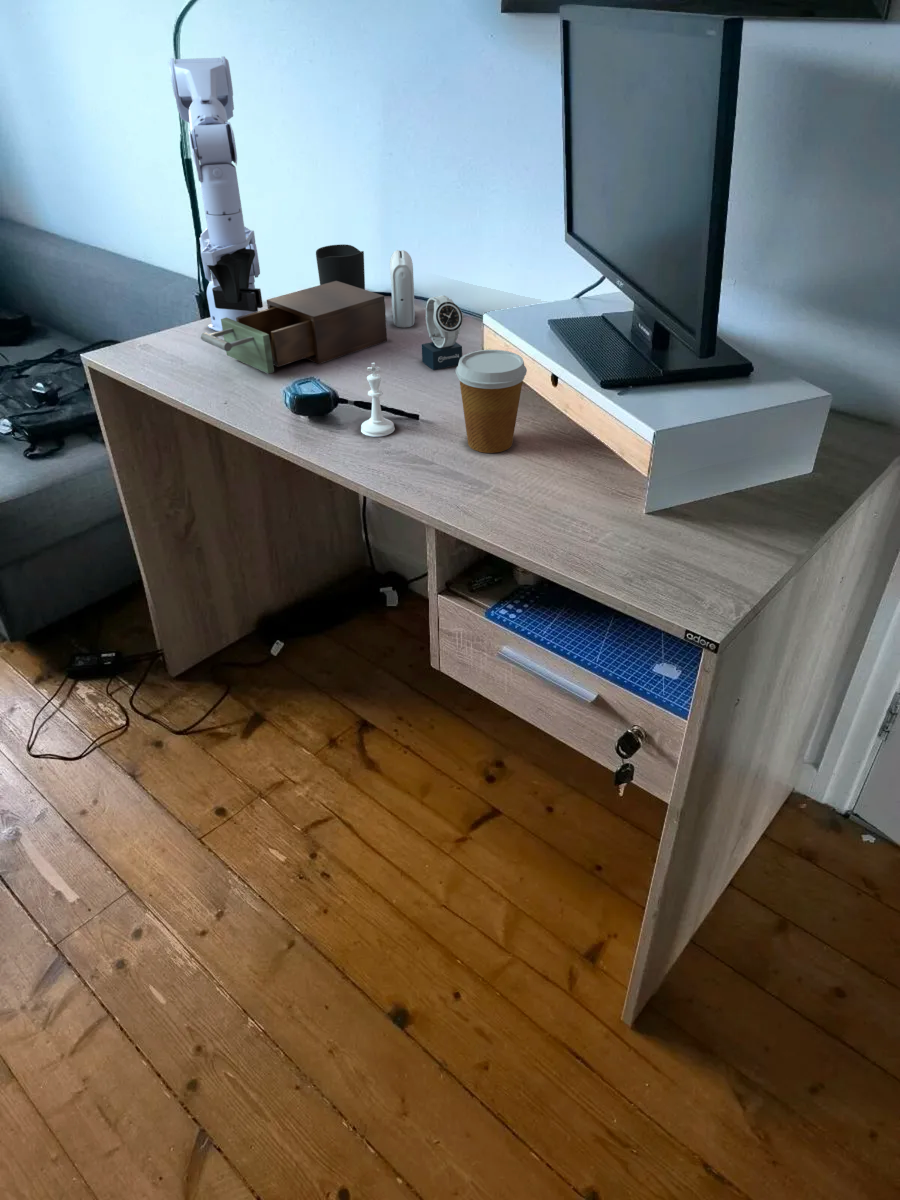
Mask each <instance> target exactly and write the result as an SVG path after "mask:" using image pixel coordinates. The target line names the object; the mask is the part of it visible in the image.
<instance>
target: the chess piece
mask: <svg viewBox="0 0 900 1200" xmlns="http://www.w3.org/2000/svg"><path fill="white" fill-rule="evenodd" d="M366 369H367V372H371V374H368V375H367V376H366V379H367V382H368V384H369V387H370V390H368V391H367V396H368V397H371V398H372V399H371V415H370V417H369V419H366V420H365V421H363V422H362V423H361V425H360V432H361V433H362V434H363V435H365V436H367V437H374V438H379V437H380V438H381V437H386V436H389V435H391V434H393V433H394V431H395V430H396V429H395V424H394V422H393V421H392V420H390V419H388V418H385V416H384V415H383V412H382V407H381V401H380V397H381V396H383V394H384V392H383V390H382V389H380V384H381V381H382V375H380V374H379V373H376V372H380V371H381V369H380V366H376V362H371V366H369V367H367V368H366Z"/></svg>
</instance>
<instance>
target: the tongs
mask: <svg viewBox="0 0 900 1200" xmlns="http://www.w3.org/2000/svg"><path fill="white" fill-rule="evenodd" d="M212 291H213V297H214V303H215V307H216V308H218V309H230V310H243V311H252V312H256V311H257V308H258V309H262V308H263V307H264V304H263V298H262V292H261V288H258V287H257V288H256V287H255V288H254V289H252V288H240V302H238V303H232V302H227V301H226V299H225V296H224V294H223V291H222V289H221V287H220V286H218V287H214V288H212Z"/></svg>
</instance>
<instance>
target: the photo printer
mask: <svg viewBox="0 0 900 1200" xmlns="http://www.w3.org/2000/svg"><path fill="white" fill-rule="evenodd" d="M412 259H413V258H412V257H411V255H410V253H409V252H408V251H406V250H405V249H402V250H399V249H397V250H395V251H394V252H393V253H392V254H391V256H390V258H389V273H390V274H389V275H390V288H391V290H390V291H391V311H392V312H391V313H392V321H393V325H394V326H395V327H397V328H411V327H412V326H414V325H415V320H416V319H415V318H416V313H415V311H416V309H415V282H414V263H413V260H412Z"/></svg>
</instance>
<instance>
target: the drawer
mask: <svg viewBox="0 0 900 1200" xmlns="http://www.w3.org/2000/svg"><path fill="white" fill-rule="evenodd" d="M221 324H222V329H223V330H222V331H218V332H217V331H215V332H212V333H211V332H210V333H208V332H202V333H201V335H200V339H201V341H203V342H204V343H206V344H209V345H211V346H214V347H216V348H218V349H220V350H223V351H225V352H226V355H227V357H230V358H232V359H234V360H237V361H239V362H241V363H243V364H246V365H247V366H250V367H252V368H255V369H257V370H258V371H261V372H263V373H266V374H268V375H269V374H271V373H275V368H274V366H275V367H278V368H279V367H282V366H285V365H288V364H292V363H294V362H297V361H300V360H303V359H306V358H307V357H310V356H313V355H315V346H314V337H313V328H312V320H309V319H307V318H304V317H301V316H298V315H296V314H293V313H290V312H287V311H285V310H282V309H279V308H276V307H272V308H269V309H268V308H266V309H262V310H258V312H255V313H251V314H247V315H244V316H240V317H237V318H236V321H234V320H232V319H229V318H223V319H221ZM221 336H223V339H222V338H219V337H221Z"/></svg>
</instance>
